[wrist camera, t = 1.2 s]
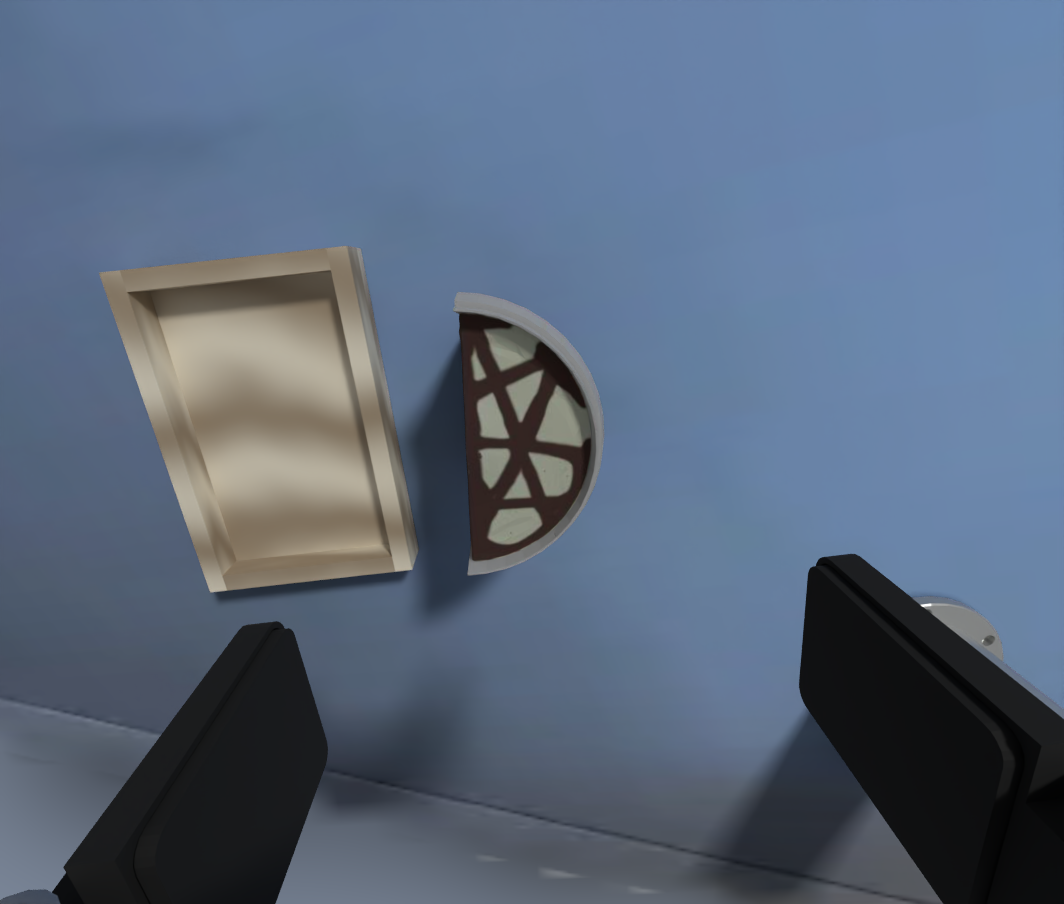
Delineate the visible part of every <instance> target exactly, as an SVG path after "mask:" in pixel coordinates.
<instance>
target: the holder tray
mask: <svg viewBox="0 0 1064 904" xmlns="http://www.w3.org/2000/svg"><path fill="white" fill-rule="evenodd" d="M99 274H100V277H101V280H102V283H103V286H104V289H105V291H106V294H107V297H108V300H109V303H110V306H111V309H112V312H113V314H114V317H115V320H116V323H117V326H118V329H119V332H120V335H121V337H122V340H123V343H124V346H125V349H126V352H127V355H128V358H129V360H130V363H131V366H132V369H133V372H134V375H135V378H136V380H137V383H138V386H139V389H140V392H141V395H142V398H143V401H144V403H145V406H146V409H147V412H148V415H149V418H150V421H151V424H152V426H153V429H154V432H155V435H156V438H157V441H158V444H159V447H160V449H161V452H162V455H163V458H164V461H165V464H166V467H167V469H168V472H169V475H170V478H171V481H172V484H173V487H174V490H175V492H176V495H177V498H178V501H179V504H180V507H181V510H182V513H183V515H184V518H185V521H186V524H187V527H188V530H189V533H190V535H191V538H192V541H193V544H194V547H195V550H196V553H197V556H198V558H199V561H200V564H201V567H202V570H203V573H204V576H205V579H206V581H207V584H208V587H209V590H210V592H218V591H227V590H236V589H245V588H254V587H263V586H272V585H281V584H290V583H299V582H308V581H316V580H325V579H334V578H343V577H352V576H361V575H370V574H379V573H388V572H397V571H406V570H412V568H413V565H414V562H415V559H416V556H417V553H418V550H419V547H418V542H417V537H416V531H415V526H414V521H413V516H412V511H411V506H410V500H409V495H408V490H407V485H406V480H405V475H404V469H403V464H402V459H401V454H400V449H399V444H398V439H397V433H396V428H395V423H394V418H393V413H392V408H391V402H390V397H389V392H388V387H387V382H386V377H385V372H384V366H383V361H382V356H381V351H380V346H379V341H378V335H377V330H376V325H375V320H374V315H373V310H372V304H371V299H370V294H369V289H368V284H367V279H366V274H365V268H364V263H363V258H362V253H361V249H360V248H355V247H349V246H342V247H333V248H323V249H314V250H305V251H296V252H286V253H277V254H268V255H259V256H249V257H240V258H231V259H222V260H212V261H203V262H194V263H185V264H175V265H166V266H157V267H148V268H138V269H129V270H120V271H111V272H101V273H99Z"/></svg>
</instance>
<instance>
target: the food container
mask: <svg viewBox="0 0 1064 904" xmlns="http://www.w3.org/2000/svg"><path fill="white" fill-rule="evenodd" d="M453 311H454V312H456V313H458V314H459V323H460V328H459V335H460V340H461V352H462V374H463V394H464V413H465V439H466V458H467V473H468V495H469V516H470V535H471V548H470V557H469V566H468V575H478V574H487V573H491V572H495V571H499V570H503V569H507V568H509V567H512V566H514V565H517V564H519V563H522V562H524V561H526V560H528V559H530V558H531V557H533V556H535V555H537V554H538V553H540V552H542V551H543V550H544V549H546V548H547V547H548V546H549V545H551V544H552V543H553V542H555V541H556V540H557V539H558V538H559V537H560V536H561V535H562V534H563V533H564V532H565V531H566V530H567V529H568V528H569V527H570V526H571V525H572V523H573V522H574V521H575V520H576V518H577V517H578V515H579V514H580V513H581V511H582V510H583V508H584V507H585V505H586V503H587V501H588V499H589V497H590V495H591V493H592V491H593V489H594V487H595V483H596V480H597V476H598V473H599V470H600V465H601V459H602V451H603V442H604V420H603V411H602V406H601V402H600V397H599V393H598V390H597V388H596V385H595V383H594V380H593V378H592V375H591V373H590V371H589V369H588V368H587V366H586V364H585V363H584V361H583V359H582V358H581V356H580V354H579V353H578V352H577V351H576V349H575V348H574V347H573V346H572V345H571V344H570V342H569V341H568V340H567V339H566V338H565V337H564V336H563V335H562V334H561V333H560V332H559V331H558V330H556V329H555V328H554V327H553V326H552V325H551V324H549V323H548V322H547V321H546V320H544V319H543V318H541V317H539V316H538V315H536V314H534V313H533V312H531V311H529V310H528V309H526V308H524V307H521V306H519V305H516V304H514V303H512V302H509V301H507V300H504V299H501V298H496V297H492V296H488V295H483V294H478V293H464V292H457V295H456V298H455V307H454V308H453Z"/></svg>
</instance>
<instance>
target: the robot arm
mask: <svg viewBox="0 0 1064 904" xmlns="http://www.w3.org/2000/svg"><path fill="white" fill-rule="evenodd" d="M799 688H800V693H801V697H802V699H803V702H804V704H805V706H806V707H807V709H808V710H809V712H810V713H811V715H812V716H813V717H814V719H815V720H816V722H817V723H818V725H819V726H820V727H821V729H822V730H823V732H824V733H825V735H826V736H827V738H828V739H829V740H830V742H831V743H832V745H833V746H834V748H835V749H836V750H837V752H838V753H839V755H840V756H841V758H842V759H843V760H844V762H845V763H846V765H847V766H848V768H849V769H850V771H851V772H852V773H853V775H854V776H855V778H856V779H857V781H858V782H859V783H860V785H861V786H862V788H863V789H864V791H865V792H866V793H867V795H868V796H869V798H870V799H871V801H872V802H873V804H874V805H875V806H876V808H877V809H878V811H879V812H880V814H881V815H882V816H883V818H884V819H885V821H886V822H887V824H888V825H889V826H890V828H891V829H892V831H893V832H894V834H895V835H896V837H897V838H898V839H899V841H900V842H901V844H902V845H903V847H904V848H905V849H906V851H907V852H908V854H909V855H910V857H911V858H912V860H913V861H914V862H915V864H916V865H917V867H918V868H919V870H920V871H921V872H922V874H923V875H924V877H925V878H926V880H927V881H928V882H929V884H930V885H931V887H932V888H933V890H934V891H935V893H936V894H937V895H938V897H939V898H940V900H941V901H942V902H943V904H1064V709H1063V708H1062V707H1061V706H1059V705H1058V704H1057V703H1056V702H1054V701H1053V700H1052V699H1050V698H1049V697H1048V696H1047V695H1045V694H1044V693H1043V692H1041V691H1040V690H1039V689H1038V688H1036V687H1035V686H1034V685H1032V684H1031V683H1030V682H1029V681H1027V680H1026V679H1025V678H1023V677H1022V676H1021V675H1020V674H1018V673H1017V672H1016V671H1014V670H1013V669H1012V668H1011V667H1009V666H1008V665H1007V664H1005V663H1004V662H1003V649H1002V642H1001V640H1000V638H999V635H998V633H997V631H996V630H995V628H994V627H993V626H992V625H991V623H990V622H989V621H988V620H987V619H986V618H984V617H983V616H982V615H980V614H979V613H978V612H976V611H975V610H974V609H972V608H970V607H968V606H967V605H965V604H963V603H961V602H958V601H955V600H952V599H948V598H943V597H933V596H927V597H913V598H911V597H910V596H909V595H908V594H906V593H905V592H904V591H903V590H901V589H900V588H899V587H898V586H896V585H895V584H894V583H892V582H891V581H890V580H889V579H887V578H886V577H885V576H884V575H882V574H881V573H880V572H879V571H877V570H876V569H875V568H874V567H872V566H871V565H870V564H869V563H867V562H866V561H865V560H864V559H862V558H861V557H860V556H858V555H856V554H846V555H837V556H829V557H822V558H820V559H819V560H818V562H817V564H816V566H814V567H811V568H810V570H809V573H808V581H807V594H806V606H805V618H804V630H803V643H802V655H801V667H800V679H799ZM327 754H328V746H327V740H326V737H325V733H324V730H323V727H322V724H321V720H320V717H319V714H318V710H317V707H316V704H315V700H314V697H313V694H312V691H311V687H310V684H309V681H308V677H307V674H306V671H305V667H304V664H303V661H302V658H301V654H300V651H299V648H298V644H297V641H296V638H295V635H294V632H293V631H292V630H291V629H289V628H288V629H285V628H284V626H283V625H282V624H281V623H280V622H277V621H276V622H268V623H259V624H251V625H245V626H243V627H242V628H241V629H240V630H239V631H238V632H237V634H236V635H235V636H234V638H233V639H232V640H231V642H230V643H229V644H228V646H227V647H226V648H225V650H224V651H223V652H222V654H221V655H220V656H219V658H218V659H217V661H216V662H215V663H214V665H213V666H212V667H211V669H210V670H209V671H208V673H207V674H206V675H205V677H204V678H203V679H202V681H201V682H200V683H199V685H198V686H197V688H196V689H195V690H194V692H193V693H192V694H191V696H190V697H189V698H188V700H187V701H186V702H185V704H184V705H183V706H182V708H181V709H180V710H179V712H178V713H177V714H176V716H175V717H174V719H173V720H172V721H171V723H170V724H169V725H168V727H167V728H166V729H165V731H164V732H163V733H162V735H161V736H160V737H159V739H158V740H157V741H156V743H155V744H154V746H153V747H152V748H151V750H150V751H149V752H148V754H147V755H146V756H145V758H144V759H143V760H142V762H141V763H140V764H139V766H138V767H137V768H136V770H135V771H134V772H133V774H132V775H131V777H130V778H129V779H128V781H127V782H126V783H125V785H124V786H123V787H122V789H121V790H120V791H119V793H118V794H117V795H116V797H115V798H114V800H113V801H112V802H111V804H110V805H109V806H108V808H107V809H106V810H105V812H104V813H103V814H102V816H101V817H100V818H99V820H98V821H97V822H96V824H95V825H94V826H93V828H92V829H91V831H90V832H89V833H88V835H87V836H86V837H85V839H84V840H83V841H82V843H81V844H80V846H79V847H78V848H77V849H76V851H75V852H74V854H73V855H72V856H71V857H70V859H69V860H68V861H67V863H66V864H65V866H64V869H65V871H66V874H65V875H64V876H63V878H62V879H61V881H60V882H59V883H58V885H57V886H56V887H55V889H54V890H53V892H52V893H51V892H50V891H48V890H27V891H24V892H21V893H17V894H14V895H11V896H8V897H5V898H3V899H1V900H0V904H275V903H276V900H277V898H278V895H279V892H280V889H281V887H282V884H283V881H284V878H285V876H286V873H287V870H288V867H289V865H290V862H291V859H292V856H293V854H294V851H295V848H296V845H297V843H298V840H299V837H300V834H301V831H302V829H303V826H304V823H305V820H306V818H307V815H308V812H309V809H310V807H311V804H312V801H313V798H314V796H315V793H316V790H317V787H318V785H319V782H320V779H321V776H322V774H323V771H324V768H325V765H326V761H327Z"/></svg>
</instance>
